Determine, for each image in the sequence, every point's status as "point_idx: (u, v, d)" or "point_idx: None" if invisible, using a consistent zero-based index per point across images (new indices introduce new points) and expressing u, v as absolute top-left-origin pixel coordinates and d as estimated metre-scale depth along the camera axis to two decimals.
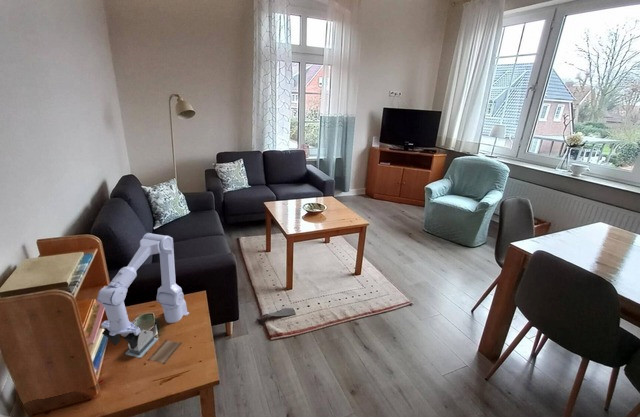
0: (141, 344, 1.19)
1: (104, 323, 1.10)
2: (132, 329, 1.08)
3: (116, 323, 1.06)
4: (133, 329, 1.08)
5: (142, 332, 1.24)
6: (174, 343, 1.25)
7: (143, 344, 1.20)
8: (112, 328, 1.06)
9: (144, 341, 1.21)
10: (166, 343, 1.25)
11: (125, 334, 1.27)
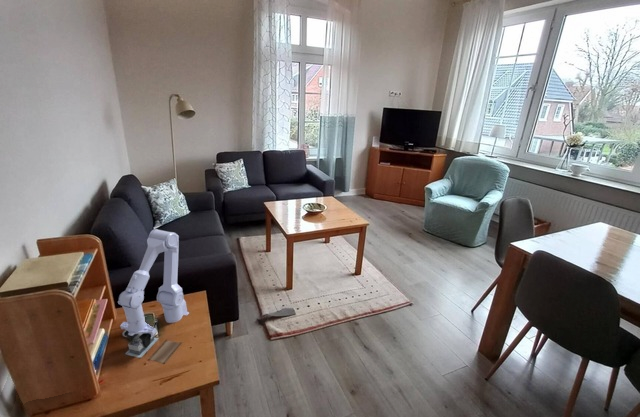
0: (141, 344, 1.19)
1: (123, 324, 1.20)
2: (149, 330, 1.18)
3: (134, 324, 1.15)
4: (149, 330, 1.18)
5: None
6: (174, 343, 1.25)
7: (143, 344, 1.20)
8: (131, 329, 1.16)
9: None
10: (166, 343, 1.25)
11: None
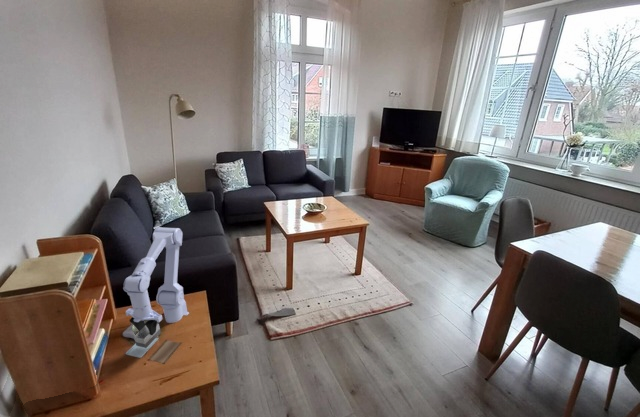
0: (147, 337, 1.16)
1: (128, 311, 1.17)
2: (154, 316, 1.15)
3: (140, 310, 1.12)
4: (155, 316, 1.14)
5: None
6: (174, 343, 1.25)
7: (149, 337, 1.17)
8: (136, 315, 1.13)
9: None
10: (166, 343, 1.25)
11: (127, 335, 1.27)
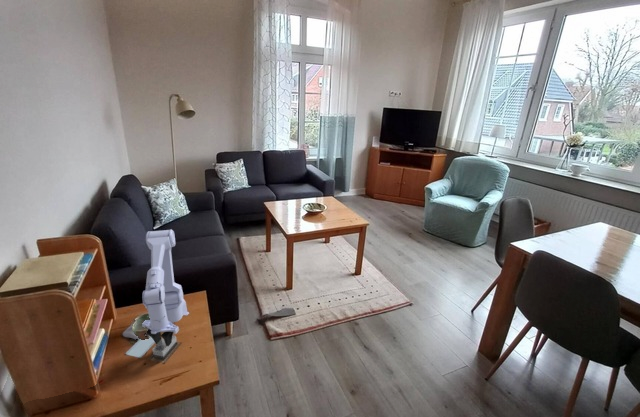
0: (165, 349, 1.17)
1: (144, 322, 1.17)
2: (171, 328, 1.15)
3: (157, 322, 1.12)
4: (172, 328, 1.15)
5: None
6: None
7: (167, 349, 1.18)
8: (153, 327, 1.13)
9: (168, 346, 1.19)
10: None
11: (127, 334, 1.27)
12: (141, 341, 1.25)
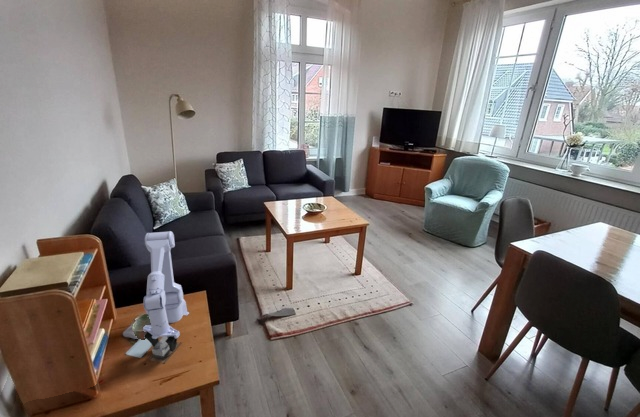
0: (165, 349, 1.17)
1: (145, 327, 1.18)
2: (172, 333, 1.16)
3: (158, 327, 1.13)
4: (173, 333, 1.16)
5: (165, 337, 1.22)
6: None
7: (166, 349, 1.18)
8: (154, 332, 1.14)
9: (168, 346, 1.19)
10: None
11: (127, 334, 1.27)
12: (141, 341, 1.25)
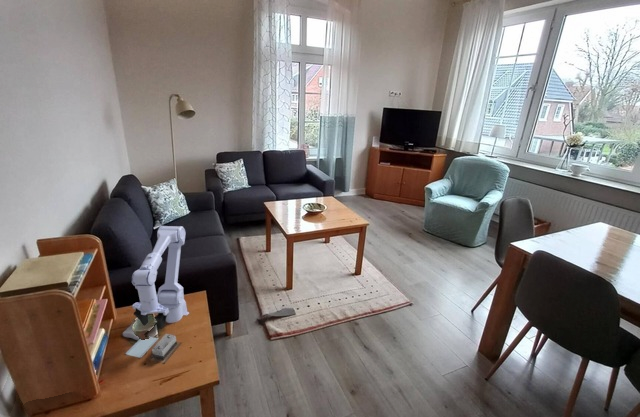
0: (165, 349, 1.17)
1: (135, 304, 1.20)
2: (161, 309, 1.17)
3: (147, 303, 1.15)
4: (162, 309, 1.17)
5: (165, 337, 1.22)
6: None
7: (166, 349, 1.18)
8: (143, 308, 1.15)
9: (168, 346, 1.19)
10: None
11: (127, 335, 1.27)
12: (141, 341, 1.25)
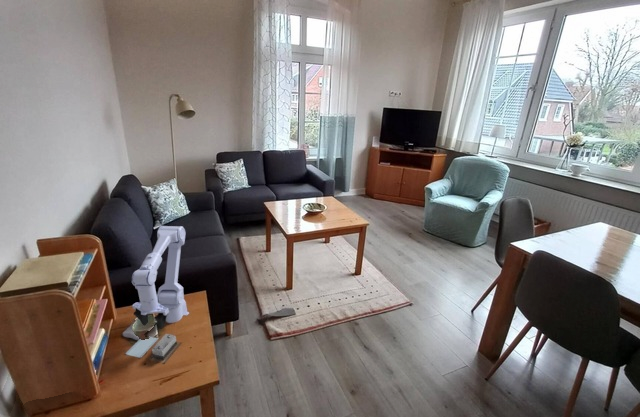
0: (165, 349, 1.17)
1: (135, 304, 1.20)
2: (161, 309, 1.17)
3: (147, 303, 1.15)
4: (162, 309, 1.17)
5: (165, 337, 1.22)
6: None
7: (166, 349, 1.18)
8: (143, 308, 1.15)
9: (168, 346, 1.19)
10: None
11: (127, 335, 1.27)
12: (141, 341, 1.25)
